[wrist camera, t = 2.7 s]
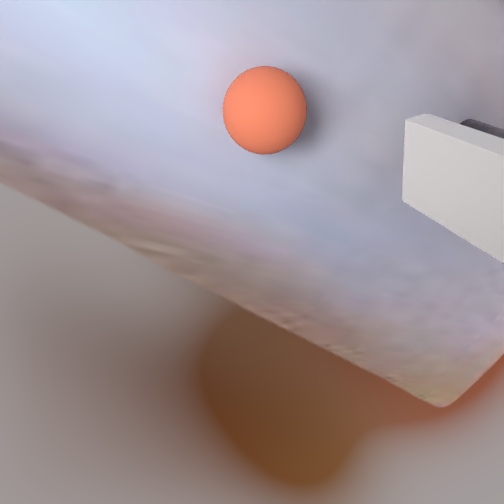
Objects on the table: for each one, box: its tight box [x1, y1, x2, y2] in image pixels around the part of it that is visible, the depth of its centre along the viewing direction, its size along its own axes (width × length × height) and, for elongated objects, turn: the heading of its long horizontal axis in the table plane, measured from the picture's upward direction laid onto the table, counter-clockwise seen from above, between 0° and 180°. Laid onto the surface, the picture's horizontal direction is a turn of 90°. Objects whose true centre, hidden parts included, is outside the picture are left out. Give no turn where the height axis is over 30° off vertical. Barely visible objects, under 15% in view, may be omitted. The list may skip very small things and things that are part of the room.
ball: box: [223, 66, 307, 154], centre depth 29 cm, size 6×6×6 cm
